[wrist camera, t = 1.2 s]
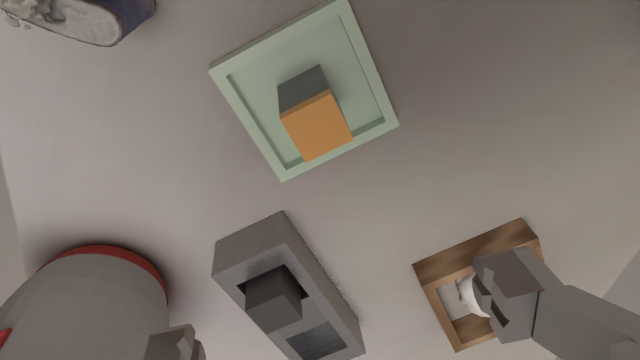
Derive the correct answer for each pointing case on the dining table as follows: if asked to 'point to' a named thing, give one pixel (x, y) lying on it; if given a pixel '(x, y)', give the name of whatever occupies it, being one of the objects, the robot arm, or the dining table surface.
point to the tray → (293, 59)
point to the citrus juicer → (83, 307)
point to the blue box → (81, 17)
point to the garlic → (469, 295)
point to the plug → (312, 114)
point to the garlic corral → (460, 264)
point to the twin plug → (273, 299)
